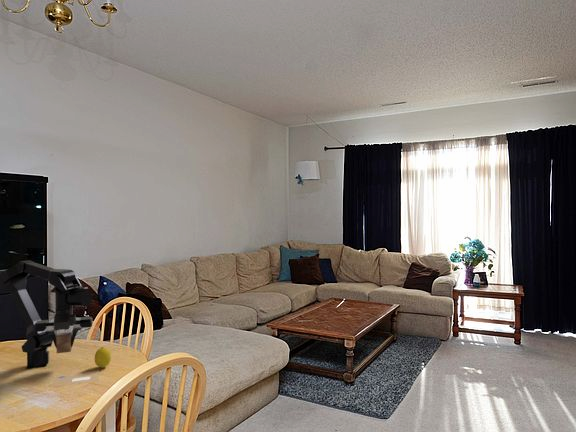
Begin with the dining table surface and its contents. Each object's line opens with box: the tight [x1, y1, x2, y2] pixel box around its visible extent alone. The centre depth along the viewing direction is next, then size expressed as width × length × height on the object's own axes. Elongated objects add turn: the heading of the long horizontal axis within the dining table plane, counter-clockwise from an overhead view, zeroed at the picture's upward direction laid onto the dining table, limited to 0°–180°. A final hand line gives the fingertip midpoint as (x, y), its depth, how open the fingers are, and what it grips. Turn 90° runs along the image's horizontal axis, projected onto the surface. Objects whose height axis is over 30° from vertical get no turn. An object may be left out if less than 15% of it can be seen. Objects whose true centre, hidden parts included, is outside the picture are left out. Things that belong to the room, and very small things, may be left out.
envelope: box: [51, 370, 100, 388], centre depth 148 cm, size 14×10×1 cm
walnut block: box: [56, 331, 73, 354], centre depth 158 cm, size 4×4×6 cm
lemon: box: [94, 346, 112, 369], centre depth 159 cm, size 6×6×8 cm
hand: (64, 347), depth 158 cm, fingers closed on walnut block, 4 cm apart
